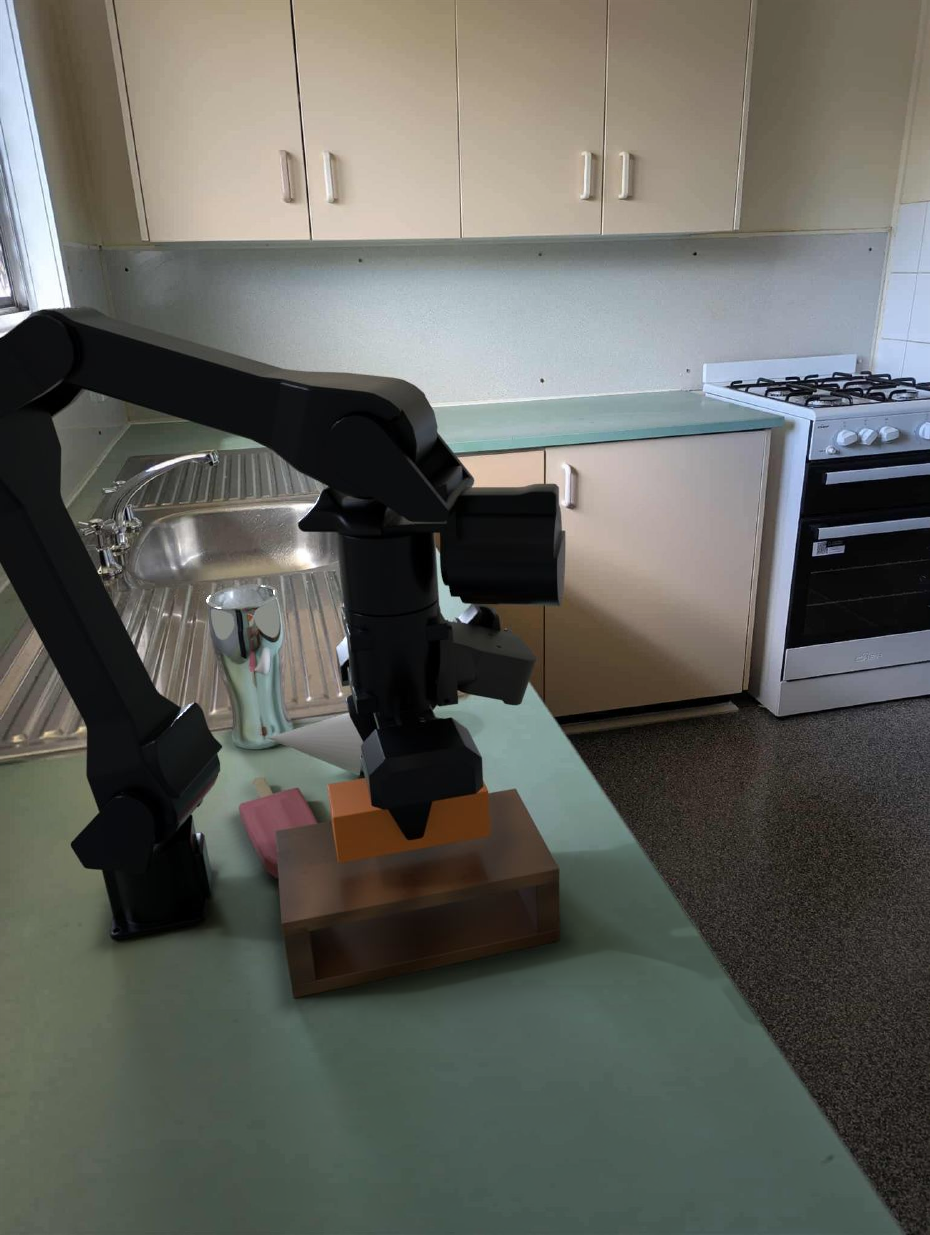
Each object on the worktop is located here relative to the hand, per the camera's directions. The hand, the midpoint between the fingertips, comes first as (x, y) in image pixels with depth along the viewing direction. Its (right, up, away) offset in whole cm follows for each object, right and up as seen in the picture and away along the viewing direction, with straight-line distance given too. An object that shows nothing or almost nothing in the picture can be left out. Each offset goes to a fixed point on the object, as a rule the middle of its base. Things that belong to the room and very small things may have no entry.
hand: (409, 819), depth 58 cm
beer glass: (-17, +1, +30) cm, 35 cm away
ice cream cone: (-7, -1, +23) cm, 24 cm away
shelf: (0, -8, +4) cm, 9 cm away
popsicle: (-12, -4, +15) cm, 20 cm away
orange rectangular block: (0, -1, 0) cm, 1 cm away
